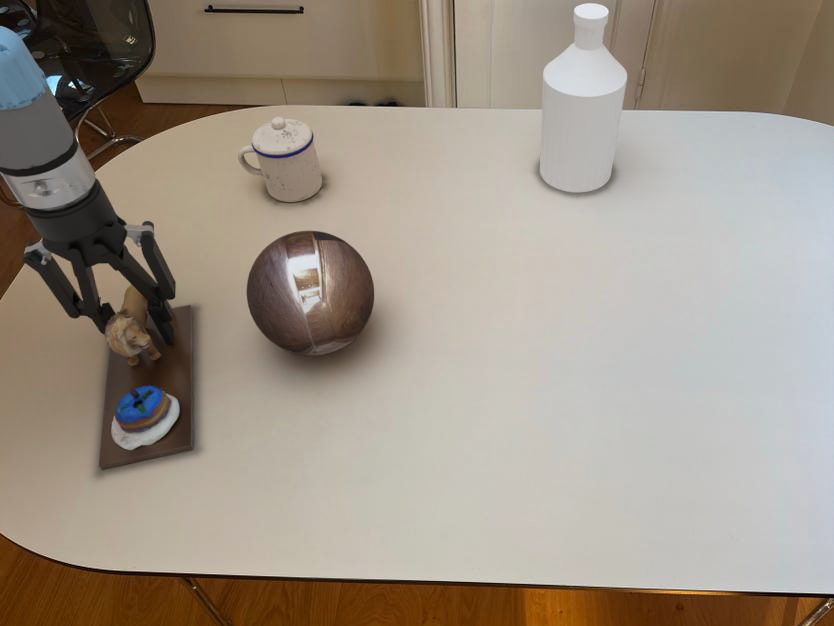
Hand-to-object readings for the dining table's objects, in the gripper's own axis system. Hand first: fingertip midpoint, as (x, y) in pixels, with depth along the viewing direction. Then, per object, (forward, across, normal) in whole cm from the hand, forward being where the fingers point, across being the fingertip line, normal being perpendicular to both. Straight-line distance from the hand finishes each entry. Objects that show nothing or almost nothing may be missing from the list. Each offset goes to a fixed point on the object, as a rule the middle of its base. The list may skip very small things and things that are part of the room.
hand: (148, 341), depth 89 cm
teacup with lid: (+2, +19, +30) cm, 35 cm away
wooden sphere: (+2, +21, -4) cm, 22 cm away
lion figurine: (+1, 0, 0) cm, 1 cm away
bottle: (+2, +64, +20) cm, 68 cm away
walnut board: (+2, 0, -6) cm, 6 cm away
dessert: (+1, 0, -12) cm, 12 cm away
